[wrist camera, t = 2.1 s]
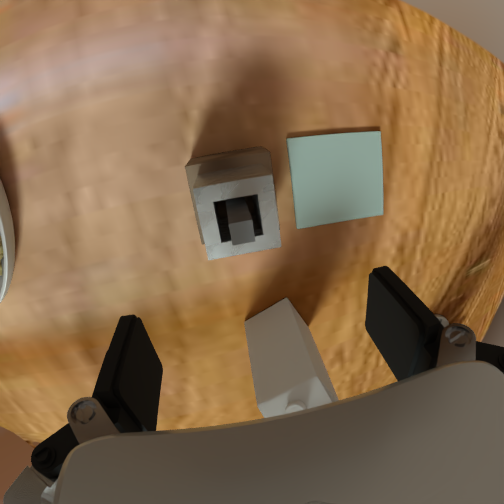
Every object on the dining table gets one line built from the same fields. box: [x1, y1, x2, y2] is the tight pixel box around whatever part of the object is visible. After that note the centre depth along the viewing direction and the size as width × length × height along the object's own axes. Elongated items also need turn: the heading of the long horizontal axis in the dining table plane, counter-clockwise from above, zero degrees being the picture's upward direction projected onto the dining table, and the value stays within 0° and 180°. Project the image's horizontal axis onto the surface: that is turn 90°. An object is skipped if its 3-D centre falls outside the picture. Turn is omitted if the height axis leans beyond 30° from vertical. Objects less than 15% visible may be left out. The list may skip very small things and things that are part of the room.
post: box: [185, 146, 280, 245], centre depth 27 cm, size 8×8×15 cm
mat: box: [286, 131, 383, 229], centre depth 35 cm, size 12×11×1 cm
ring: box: [193, 164, 281, 260], centre depth 26 cm, size 6×6×6 cm
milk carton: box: [244, 298, 339, 418], centre depth 35 cm, size 7×7×19 cm
